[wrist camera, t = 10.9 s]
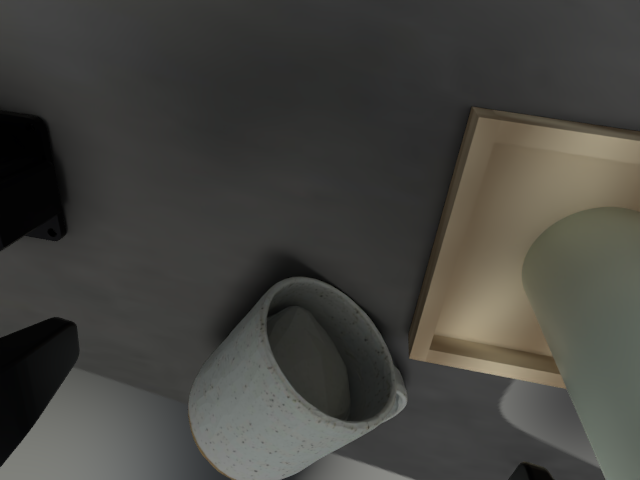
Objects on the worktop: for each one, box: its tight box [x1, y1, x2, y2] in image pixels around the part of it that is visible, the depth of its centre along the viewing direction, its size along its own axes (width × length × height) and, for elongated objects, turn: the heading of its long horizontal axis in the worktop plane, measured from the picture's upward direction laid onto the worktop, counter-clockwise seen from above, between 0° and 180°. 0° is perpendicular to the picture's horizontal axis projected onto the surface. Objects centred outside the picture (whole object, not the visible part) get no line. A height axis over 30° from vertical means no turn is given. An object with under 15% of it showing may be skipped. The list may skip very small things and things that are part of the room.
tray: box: [408, 107, 640, 389], centre depth 19 cm, size 14×12×2 cm
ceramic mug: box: [188, 276, 407, 480], centre depth 22 cm, size 11×8×8 cm
